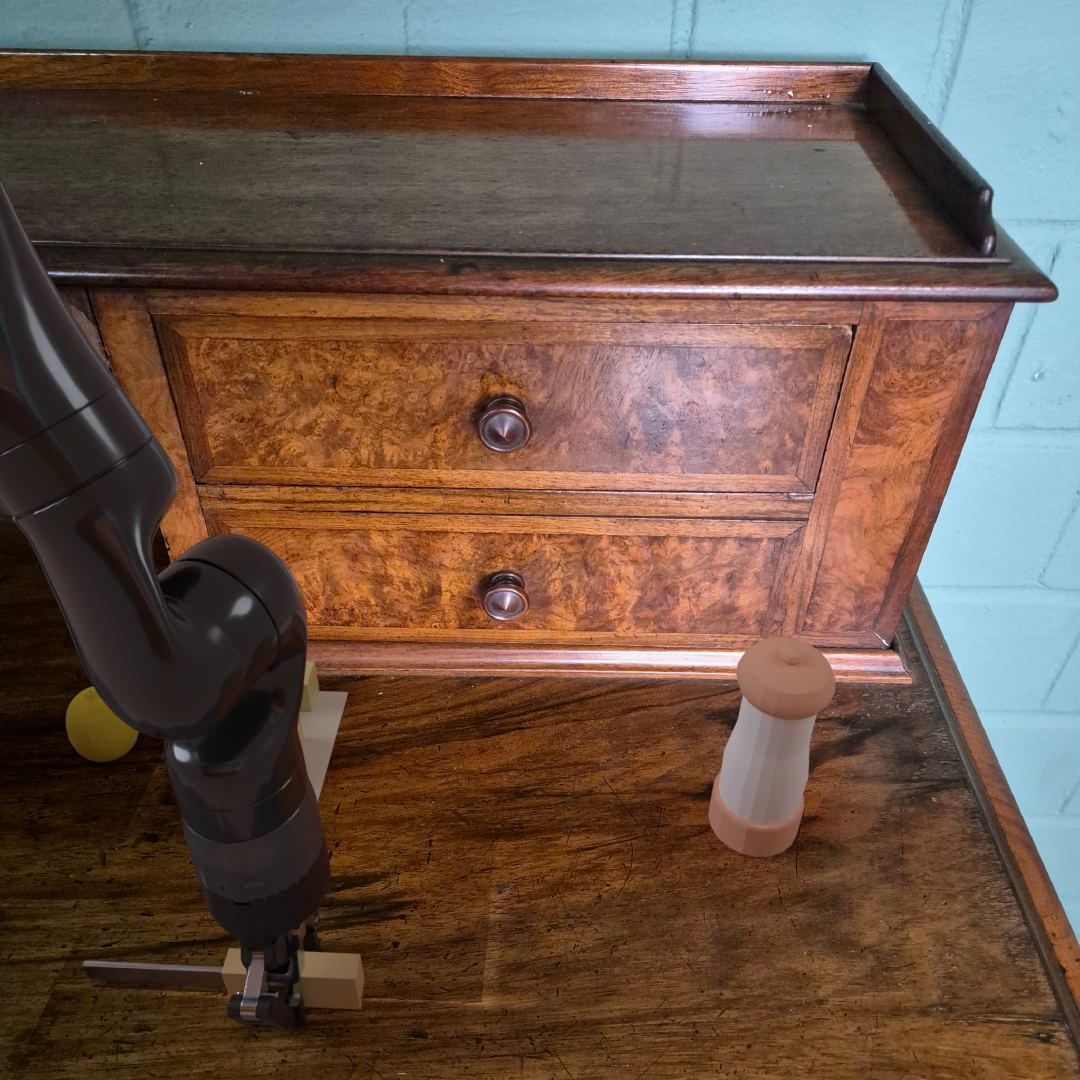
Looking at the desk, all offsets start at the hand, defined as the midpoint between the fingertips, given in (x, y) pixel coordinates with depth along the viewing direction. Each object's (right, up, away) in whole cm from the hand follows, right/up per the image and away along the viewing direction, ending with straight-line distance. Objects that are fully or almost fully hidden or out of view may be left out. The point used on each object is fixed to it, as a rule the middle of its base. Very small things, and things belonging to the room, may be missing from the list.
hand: (298, 989), depth 66 cm
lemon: (-20, +12, +17) cm, 29 cm away
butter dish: (-6, +13, +17) cm, 22 cm away
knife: (-5, 0, 0) cm, 5 cm away
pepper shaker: (+35, +8, +12) cm, 37 cm away
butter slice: (-6, +17, +21) cm, 28 cm away
